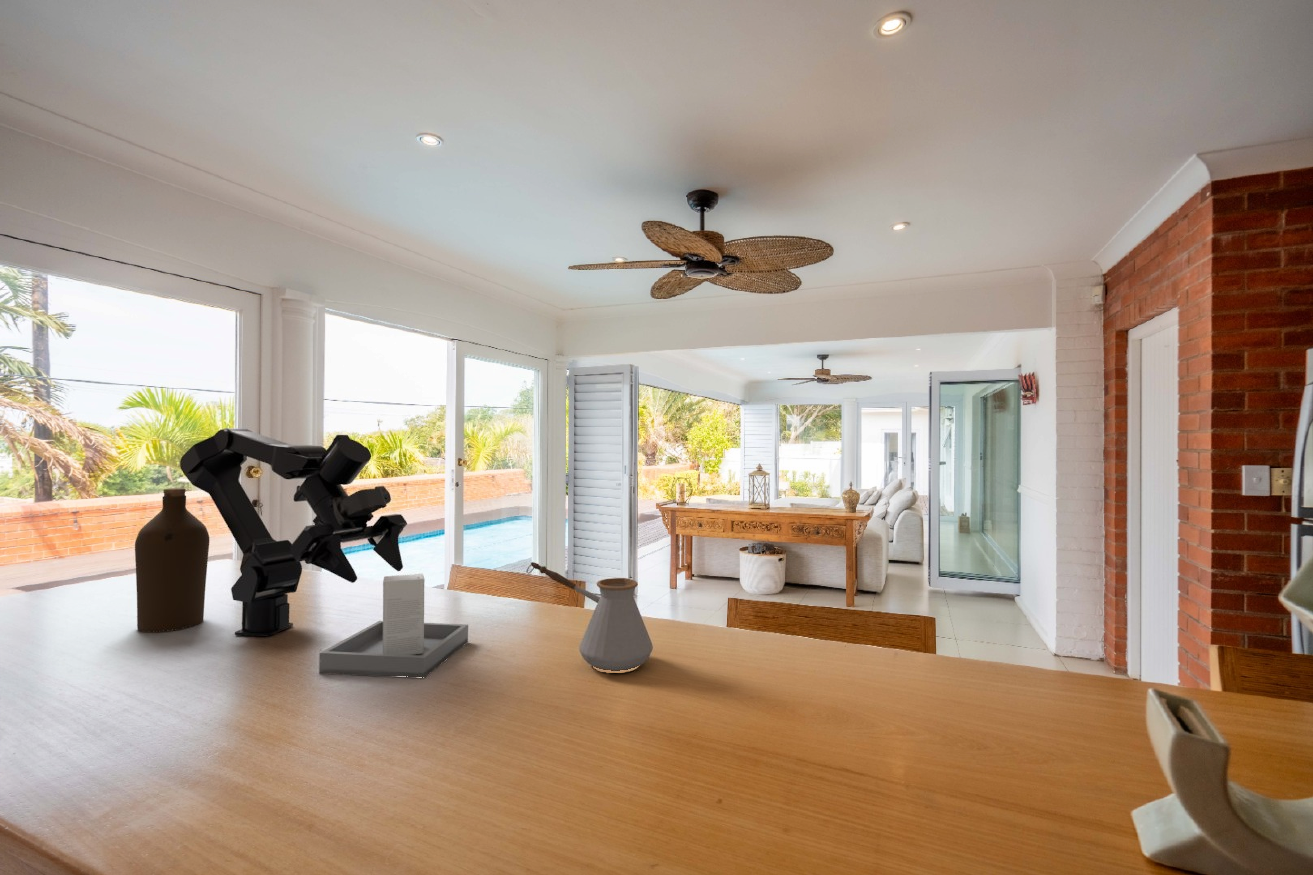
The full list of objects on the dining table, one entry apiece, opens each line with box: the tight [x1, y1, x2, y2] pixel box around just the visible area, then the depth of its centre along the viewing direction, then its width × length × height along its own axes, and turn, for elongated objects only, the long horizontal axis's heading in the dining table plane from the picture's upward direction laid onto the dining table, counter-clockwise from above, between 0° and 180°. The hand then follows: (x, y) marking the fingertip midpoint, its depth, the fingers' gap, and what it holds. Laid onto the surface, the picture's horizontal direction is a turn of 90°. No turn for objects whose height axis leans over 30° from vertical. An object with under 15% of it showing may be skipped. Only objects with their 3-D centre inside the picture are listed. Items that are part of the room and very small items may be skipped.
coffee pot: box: [526, 561, 654, 671], centre depth 94 cm, size 21×12×15 cm, turn 73°
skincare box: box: [382, 573, 425, 655], centre depth 94 cm, size 6×4×12 cm
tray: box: [318, 620, 469, 678], centre depth 95 cm, size 16×16×3 cm
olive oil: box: [134, 487, 210, 633], centre depth 109 cm, size 11×11×25 cm
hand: (378, 574), depth 96 cm, fingers open, 9 cm apart
